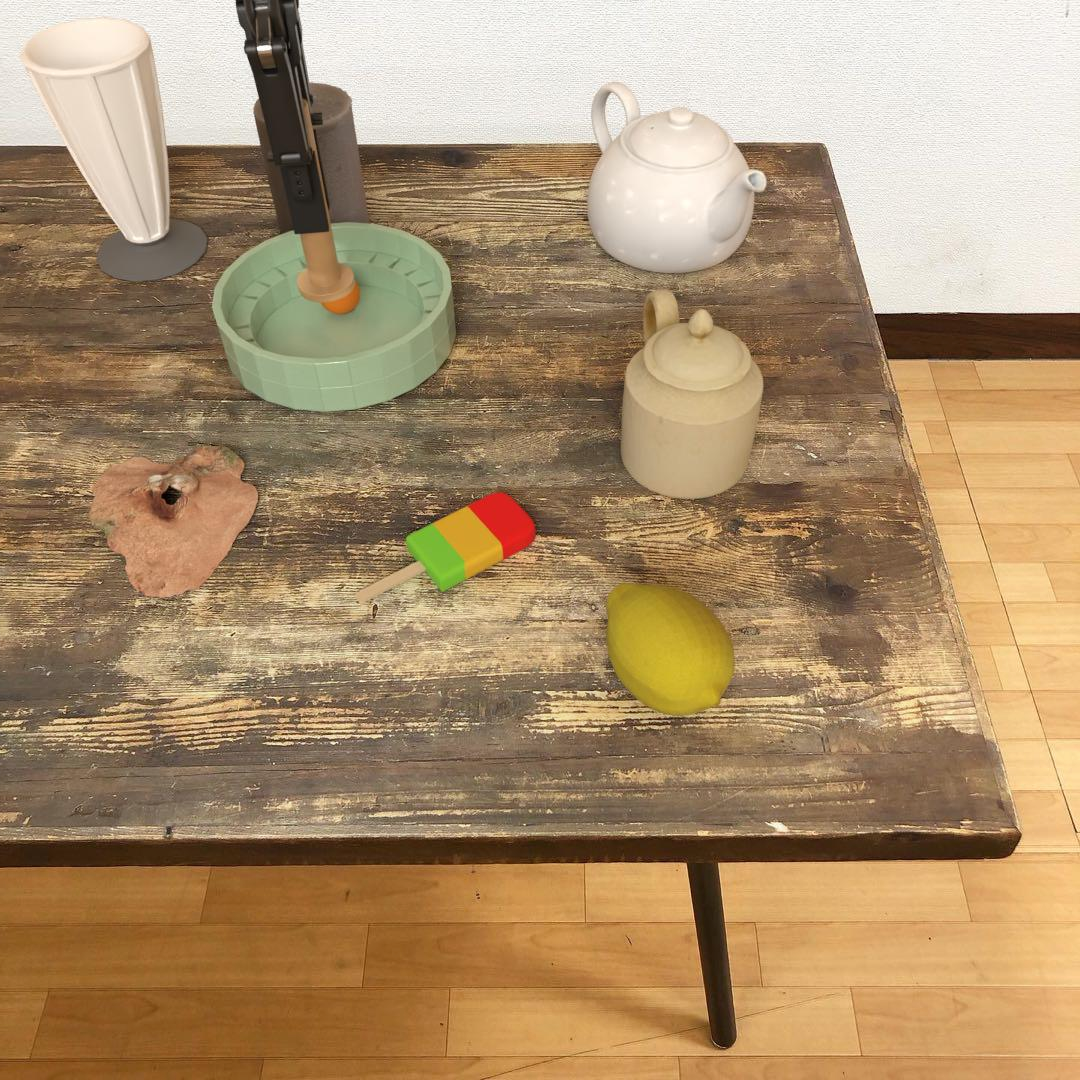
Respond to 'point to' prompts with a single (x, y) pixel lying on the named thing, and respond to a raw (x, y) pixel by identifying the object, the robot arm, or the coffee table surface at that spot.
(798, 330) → the coffee table surface
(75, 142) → the cup
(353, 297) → the ball
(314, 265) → the stick
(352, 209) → the pillar candle
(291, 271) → the bowl
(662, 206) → the teapot
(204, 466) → the clay slab
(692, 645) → the lemon
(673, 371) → the sugar bowl
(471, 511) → the popsicle
